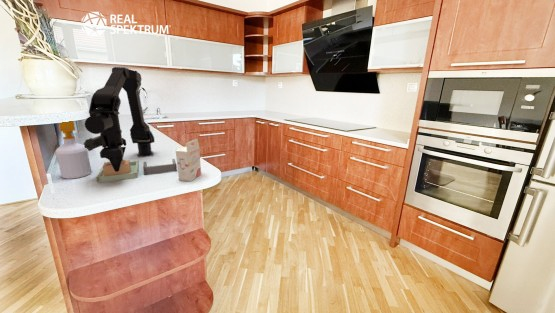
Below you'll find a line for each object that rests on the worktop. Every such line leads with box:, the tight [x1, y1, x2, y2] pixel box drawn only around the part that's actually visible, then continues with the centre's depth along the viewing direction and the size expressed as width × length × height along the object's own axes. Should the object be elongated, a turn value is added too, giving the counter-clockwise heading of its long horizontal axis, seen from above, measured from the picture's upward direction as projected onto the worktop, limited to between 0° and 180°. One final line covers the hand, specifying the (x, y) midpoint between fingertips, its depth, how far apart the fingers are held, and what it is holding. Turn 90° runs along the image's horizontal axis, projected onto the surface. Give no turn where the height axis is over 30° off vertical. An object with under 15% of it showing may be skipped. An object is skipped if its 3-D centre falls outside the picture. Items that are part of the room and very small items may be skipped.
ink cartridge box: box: [175, 138, 202, 182], centre depth 93 cm, size 9×5×15 cm, turn 168°
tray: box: [96, 160, 140, 184], centre depth 97 cm, size 16×13×2 cm
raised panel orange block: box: [102, 158, 131, 176], centre depth 95 cm, size 8×11×6 cm
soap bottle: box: [55, 120, 93, 180], centre depth 91 cm, size 9×9×25 cm
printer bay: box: [142, 158, 178, 176], centre depth 101 cm, size 8×12×3 cm, turn 117°
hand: (118, 169), depth 93 cm, fingers open, 6 cm apart
